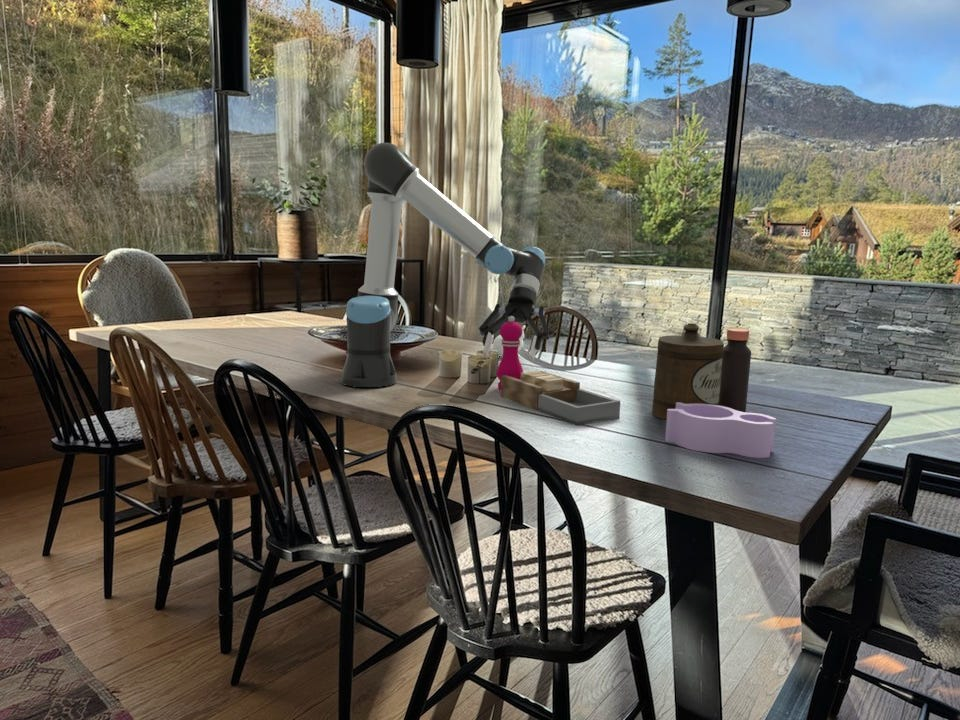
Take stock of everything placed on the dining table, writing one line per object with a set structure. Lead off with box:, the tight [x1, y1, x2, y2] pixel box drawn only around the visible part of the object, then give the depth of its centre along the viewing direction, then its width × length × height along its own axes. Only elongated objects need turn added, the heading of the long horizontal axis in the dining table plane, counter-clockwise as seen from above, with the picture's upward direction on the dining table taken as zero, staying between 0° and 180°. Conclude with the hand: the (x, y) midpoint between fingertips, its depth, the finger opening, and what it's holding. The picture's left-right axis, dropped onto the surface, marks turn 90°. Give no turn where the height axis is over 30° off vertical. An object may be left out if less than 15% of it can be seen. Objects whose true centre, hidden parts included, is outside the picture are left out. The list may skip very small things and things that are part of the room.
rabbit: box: [489, 324, 526, 359], centre depth 228 cm, size 12×9×12 cm
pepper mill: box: [496, 316, 524, 391], centre depth 181 cm, size 7×7×20 cm
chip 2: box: [535, 375, 564, 391], centre depth 167 cm, size 5×5×2 cm
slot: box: [500, 370, 581, 411], centre depth 171 cm, size 16×13×6 cm
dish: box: [537, 388, 621, 426], centre depth 159 cm, size 14×13×4 cm
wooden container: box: [651, 322, 725, 421], centre depth 158 cm, size 15×15×22 cm
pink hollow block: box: [664, 402, 777, 459], centre depth 137 cm, size 20×12×7 cm, turn 59°
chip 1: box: [521, 370, 549, 385], centre depth 172 cm, size 5×5×2 cm
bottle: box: [718, 328, 752, 412], centre depth 163 cm, size 7×7×20 cm
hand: (507, 356), depth 178 cm, fingers open, 12 cm apart
